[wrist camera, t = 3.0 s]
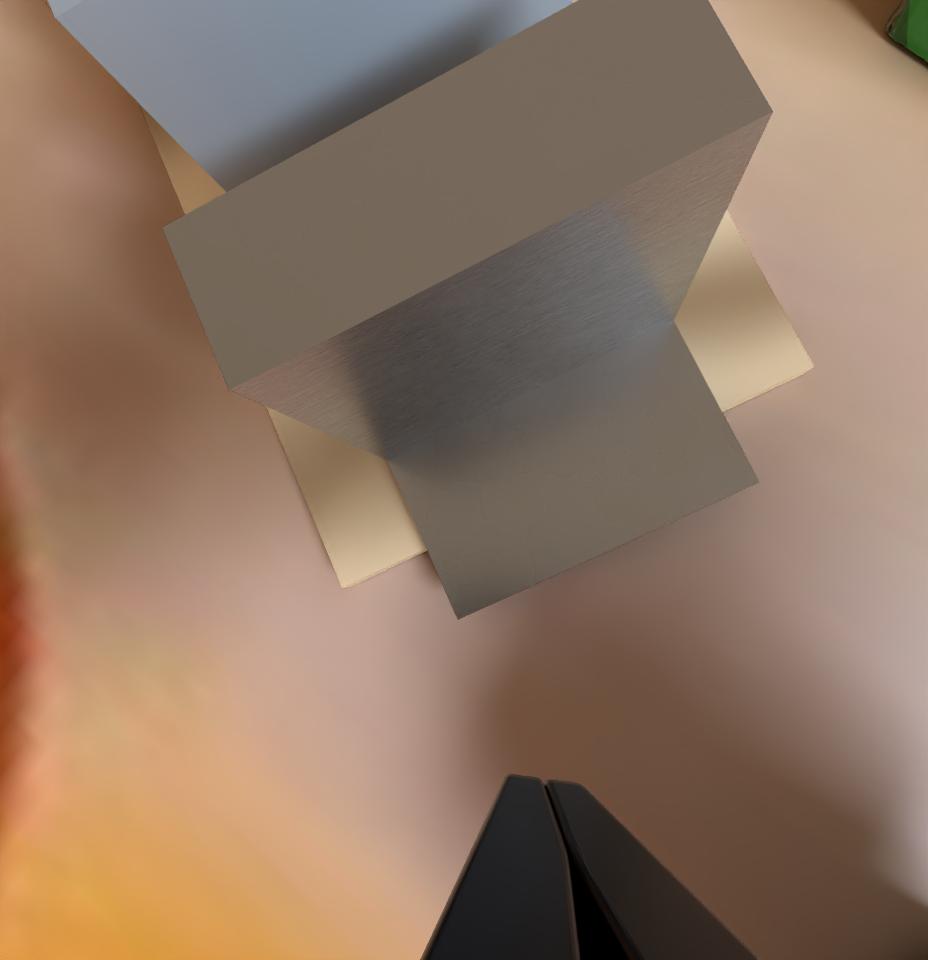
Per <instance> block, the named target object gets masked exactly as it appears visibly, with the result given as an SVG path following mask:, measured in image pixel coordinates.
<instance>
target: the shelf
mask: <svg viewBox="0 0 928 960" xmlns="http://www.w3.org/2000/svg"><path fill="white" fill-rule="evenodd" d="M43 1H44V2H45V3H46V4H47V5H48V6H49V7H50V5H49V2H48V0H43ZM576 1H578V0H573V3H574V2H576ZM50 8H51V7H50ZM138 104H139V103H138ZM139 106H140V109H141V111H142V113H143V116H144V118H145V121H146V123H147V125H148V128H149V130H150V132H151V135H152V137H153V140H154V142H155V144H156V147H157V149H158V151H159V154H160V156H161V159H162V161H163V163H164V166H165V168H166V170H167V173H168V175H169V178H170V180H171V182H172V185H173V187H174V189H175V192H176V194H177V197H178V199H179V201H180V204H181V206H182V208H183V211H184V213H185V215H186V214H188V213H189V212H191V211H193V210H195V209H197V208H199V207H200V206H202V205H204V204H206V203H208V202H210V201H211V200H213V199H215V198H217V197H219V196H221V195H222V194H224V193H226V191H225V190H224V189H223V188H222V187H221V186H220V185H219V184H218V183H217V182H216V181H215V180H214V179H213V178H212V177H211V176H210V175H209V174H208V173H207V172H206V171H205V170H204V169H203V168H202V167H201V166H200V165H199V164H198V163H197V162H196V161H195V160H194V159H193V158H192V157H191V156H190V155H189V154H188V153H187V152H186V151H185V150H184V149H183V148H182V147H181V146H180V145H179V144H178V143H177V141H176V140H175V139H174V138H173V137H172V136H171V135H170V134H169V133H168V132H167V131H166V130H165V129H164V128H163V127H162V126H161V125H160V124H159V123H158V122H157V121H156V120H155V119H154V118H153V117H152V116H151V115H150V114H149V113H148V112H147V111H146V110H145V109H144V108H143V107H142V106H141V105H140V104H139ZM674 322H675V324H676V326H677V327H678V329H679V331H680V333H681V335H682V337H683V339H684V341H685V343H686V345H687V346H688V348H689V350H690V352H691V354H692V356H693V358H694V360H695V362H696V363H697V365H698V367H699V369H700V371H701V373H702V375H703V377H704V379H705V380H706V382H707V384H708V386H709V388H710V390H711V392H712V394H713V396H714V397H715V399H716V401H717V403H718V405H719V407H720V409H721V411H722V412H724V411H726V410H728V409H731V408H733V407H735V406H737V405H739V404H741V403H743V402H745V401H748V400H750V399H752V398H754V397H756V396H758V395H760V394H762V393H765V392H767V391H769V390H771V389H773V388H775V387H777V386H780V385H782V384H784V383H786V382H788V381H790V380H792V379H794V378H797V377H799V376H801V375H803V374H804V373H806V372H807V371H808V370H810V369H811V368H813V367H814V365H813V363H812V361H811V360H810V358H809V356H808V354H807V352H806V351H805V349H804V347H803V345H802V344H801V342H800V340H799V338H798V336H797V335H796V333H795V331H794V329H793V327H792V326H791V324H790V322H789V320H788V318H787V317H786V315H785V313H784V311H783V309H782V308H781V306H780V304H779V302H778V300H777V299H776V297H775V295H774V293H773V291H772V290H771V288H770V286H769V284H768V282H767V281H766V279H765V277H764V275H763V274H762V272H761V270H760V268H759V266H758V265H757V263H756V261H755V259H754V257H753V256H752V254H751V252H750V250H749V248H748V247H747V245H746V243H745V241H744V239H743V238H742V236H741V234H740V232H739V230H738V229H737V227H736V225H735V223H734V221H733V220H732V218H731V216H730V214H729V212H728V211H727V210H726V212H725V214H724V216H723V218H722V220H721V222H720V224H719V226H718V229H717V231H716V233H715V235H714V237H713V239H712V241H711V243H710V245H709V248H708V250H707V252H706V254H705V256H704V258H703V260H702V262H701V264H700V267H699V269H698V271H697V273H696V275H695V277H694V279H693V281H692V283H691V286H690V288H689V290H688V292H687V294H686V296H685V298H684V300H683V302H682V305H681V307H680V309H679V311H678V313H677V315H676V317H675V319H674ZM266 408H267V410H268V413H269V415H270V418H271V420H272V422H273V425H274V427H275V429H276V432H277V434H278V437H279V439H280V441H281V444H282V446H283V448H284V451H285V453H286V456H287V458H288V460H289V463H290V465H291V468H292V470H293V472H294V475H295V477H296V479H297V482H298V484H299V487H300V489H301V491H302V494H303V496H304V498H305V501H306V503H307V506H308V508H309V510H310V513H311V515H312V517H313V520H314V522H315V525H316V527H317V529H318V532H319V534H320V536H321V539H322V541H323V544H324V546H325V548H326V551H327V553H328V555H329V558H330V560H331V563H332V565H333V567H334V570H335V572H336V574H337V577H338V579H339V582H340V584H341V586H342V588H345V587H349V586H353V585H355V584H358V583H360V582H362V581H364V580H366V579H368V578H370V577H372V576H375V575H377V574H379V573H381V572H383V571H385V570H387V569H390V568H392V567H394V566H396V565H398V564H400V563H402V562H404V561H407V560H409V559H411V558H413V557H415V556H417V555H419V554H421V553H424V552H426V551H427V549H426V547H425V544H424V542H423V540H422V538H421V535H420V533H419V531H418V529H417V526H416V524H415V522H414V520H413V517H412V515H411V513H410V511H409V508H408V506H407V504H406V502H405V499H404V497H403V495H402V493H401V490H400V488H399V486H398V484H397V481H396V479H395V477H394V475H393V472H392V470H391V468H390V466H389V463H388V461H387V460H385V459H383V458H381V457H379V456H376V455H374V454H372V453H370V452H367V451H365V450H363V449H361V448H358V447H356V446H354V445H352V444H349V443H347V442H345V441H343V440H340V439H338V438H336V437H334V436H331V435H329V434H327V433H324V432H322V431H320V430H318V429H315V428H313V427H311V426H309V425H306V424H304V423H302V422H300V421H297V420H295V419H293V418H291V417H288V416H286V415H284V414H282V413H279V412H277V411H275V410H273V409H270V408H268V407H266Z"/></svg>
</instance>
